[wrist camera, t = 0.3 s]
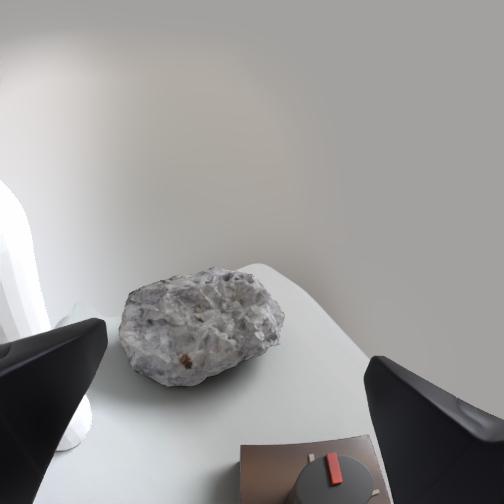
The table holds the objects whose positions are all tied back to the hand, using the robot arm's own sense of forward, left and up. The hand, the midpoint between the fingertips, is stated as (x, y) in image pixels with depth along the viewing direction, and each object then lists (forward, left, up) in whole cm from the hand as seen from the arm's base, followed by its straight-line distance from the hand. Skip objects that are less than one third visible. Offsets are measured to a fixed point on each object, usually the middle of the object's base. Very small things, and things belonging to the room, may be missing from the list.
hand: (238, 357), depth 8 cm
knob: (-1, -5, -13) cm, 14 cm away
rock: (+19, +4, -16) cm, 25 cm away
